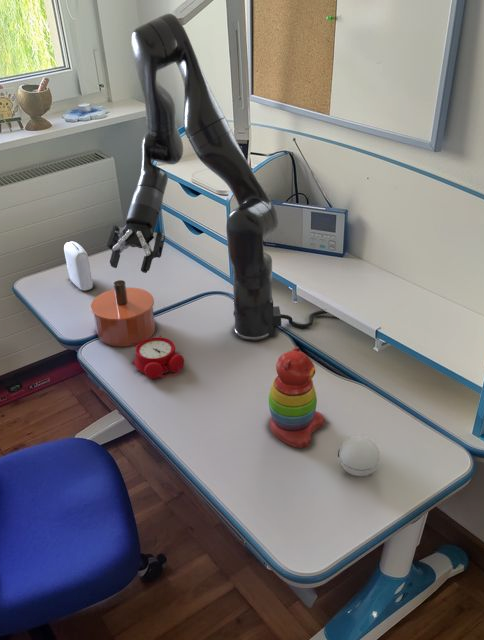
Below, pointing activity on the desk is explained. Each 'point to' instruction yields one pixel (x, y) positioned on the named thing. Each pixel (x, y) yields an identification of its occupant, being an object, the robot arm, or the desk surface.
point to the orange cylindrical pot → (126, 330)
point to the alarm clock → (157, 357)
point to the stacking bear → (294, 400)
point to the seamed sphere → (359, 455)
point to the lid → (122, 303)
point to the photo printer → (78, 265)
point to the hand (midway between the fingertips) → (128, 269)
